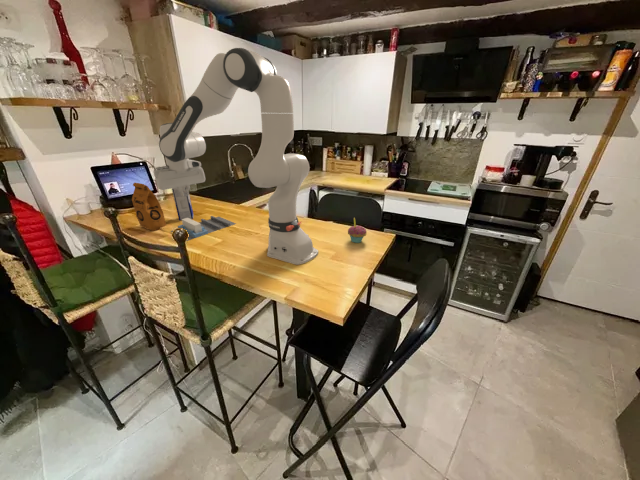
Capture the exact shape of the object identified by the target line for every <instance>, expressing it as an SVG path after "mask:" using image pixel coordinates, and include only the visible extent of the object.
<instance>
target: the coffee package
mask: <svg viewBox="0 0 640 480" xmlns="http://www.w3.org/2000/svg"><path fill="white" fill-rule="evenodd" d="M132 186H133V187H134V190H133V193H132V197H131V201H132V205H133V208H134V211H135V215H136V216H135V217H136V218H137V221H138V223H139V226H140V227H142V228H145V229H146V230H149V231H153V232H154V231H158V230H161V229H162V228H163V227H165V226H167V224H166V219H165V215H164V211H163V209H162V207H161V204H160V202H159V200H158V198H157V196H156V195H155V194H154V193H153V191H152V190H151V189H150V188H149V186H148V185H147V184H144V183H139V182H133V184H132Z"/></svg>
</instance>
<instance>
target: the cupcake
mask: <svg viewBox="0 0 640 480" xmlns="http://www.w3.org/2000/svg"><path fill="white" fill-rule="evenodd" d="M347 235H349V237H350V240H351V242H352V243H356V244H359V243H361V242H362V241H363V238H364V237H366V236H367V229H366V228H365V227H363V226H362V225H357V224H356V218H355V217H353V225H352V226H351V227H349V228H348V229H347Z"/></svg>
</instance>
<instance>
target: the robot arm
mask: <svg viewBox="0 0 640 480" xmlns="http://www.w3.org/2000/svg"><path fill="white" fill-rule="evenodd" d="M238 89H242V90H245V91H247V92H250V93H253V92H254V93H256V94H257V96H258V98H259V102H260V115H261V143H260V147H259V149H258V152H257V154H256V155H255V157H254V158H253V159H252V160H251V162H249V165H248V169H247V175H248V178H249V180H250V182H251V183H252V185H254V187H257V188H262V189H263V188H266V189H269V188H274V187H275V188H276V189H275V191H274V192H273V193H272V194H271V195H270V196H269V198H268V201H267V205H268V206H267V207H268V216H269V217H268V221H267V222H268V228H269V234H268V246H267V252H266V256H267V257H269V258H272V259H276V260H279V261H282V262H285V263H290V264H293V265H296V266H297V265H303V264H306V263H308V262H309V261H311V260H314V258H316V257H317V256H318V255H319V250H318V249H317V248H315V247H313V245H314V244H313V240H312V238H311V237H310V235H309V234H308V233H306V232H305V231H304V230H303V229H302V228H301V225H302V221H299V219H298V216H297V199H298V195H299V191H300V189H301V186H302V184H303V182H304V181H305V180H306V178H307V177H308V175H309V174H310V169H311V168H310V163H309V161H308V159H307V157H306V156H305V155H303V154H298V153H286V154H285V150H286V148H287V146H288V144H289V143H290V142H291V141H292V140H293V139H294V134H295V129H294V105H293V104H294V103H293V97H292V96H293V95H292V91H291V86H290V83H289V82H288V80H287V79H286V78H284V77H283V76H280V75H278V71H277V68H276V67H275V64H273V62H271V60H269V59H268V58H266V57H264V56H262V55H260V54H259V53H257V52H255V51H252V50H249V49H246V48H244V47H243V48H242V47H233V48H231V49H228V51H227V52H226V53H225V52H224V53H223V52H220V53H217V54H215V56H214V57H213V59H211V61H210V62H209V64H208V66H207V68H206V70H205V71H204V74H203V75H202V78H201V80H200V82H199V84H198V85H197V86H196V88H195V90H194V92H193V93H192V94H191V95H190V96H189V97H188V98H187V99H186V100H185V102H184V103H183V104H182V107H181V108H180V110H179V112H178V113H177V115H176V116H175V118H174V120H173V121H172V122H169V123H167V122H166V123H163V124H161V125H160V126H159V136H160V139H159V142H158V144H159V145H158V146H159V147H158V148H159V150H160V152H161V154H162V155H163V156H164V159H165V163H166V165H162V166H156V167H155V168H154V169H153V170H152V171H153V172H152V173H153V175H154V177H155V183H156V187H157V188H158V189H160V190H161V191H165V190H169V189H171V190H172V188H176V187H177V189H178V190H179V191H180V192H181V196H187V195H190V189H191V185H197V184H201V183H203V184H204V183H205V182H206V174H205V172H204V169H203V167H202V163H201V161H198V160H194V159H193V158H197V157H201V156H203V155H204V154H205V153H206V150H207V142H206V140H205V138H204V137H203V136H202V134H201V133H199V132H194V131H193V130H194V128H195V127H196V125H197V124H199V122H201V121H203V120H205V119H207V118H210V117H213V116H217V115H220V114H222V113H224V111H226V109H227V108H229V105H230V104H231V103H232V101H233V99H234V96H235V94H236V92H237V91H238ZM182 186H185V187H186V190H185V191H182V190H181V189H182Z"/></svg>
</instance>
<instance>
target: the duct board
mask: <svg viewBox="0 0 640 480" xmlns="http://www.w3.org/2000/svg"><path fill="white" fill-rule="evenodd" d="M198 223H200V224H201V228H202V232H199V233H196V234H195V233H193V230H188V229H186V228H185V226H183V224H180V225H177V229H178V228H183V229H185V230H187V232H188V234H189V237H188V240H186V242H188V241H191V240H193V239H197V238H199V237H202V236H205V235H208V234H211V233H215V232H218V231H219V230H223V229H226V228H228V227H232V226H234V225H237V223H235V222H233V221H231V220H229V219H225V218H224V217H221V216H214V215H210V218H209V219H204V218H200V222H199V221H198ZM170 232H171V233H172V232H173V230H170Z"/></svg>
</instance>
